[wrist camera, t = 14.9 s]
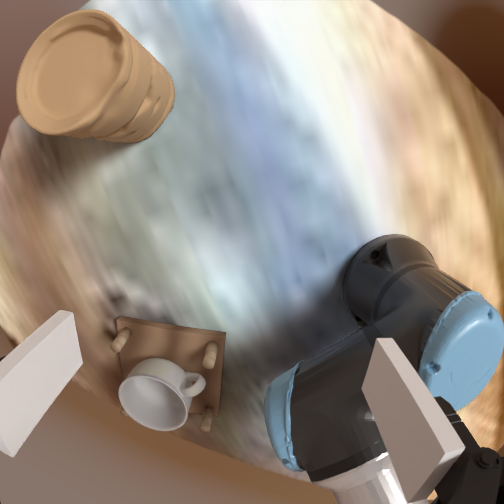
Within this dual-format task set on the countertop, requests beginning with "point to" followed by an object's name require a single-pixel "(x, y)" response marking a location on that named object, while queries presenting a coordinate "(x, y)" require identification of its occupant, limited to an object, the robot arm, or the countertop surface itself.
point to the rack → (176, 357)
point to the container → (92, 81)
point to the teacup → (159, 394)
